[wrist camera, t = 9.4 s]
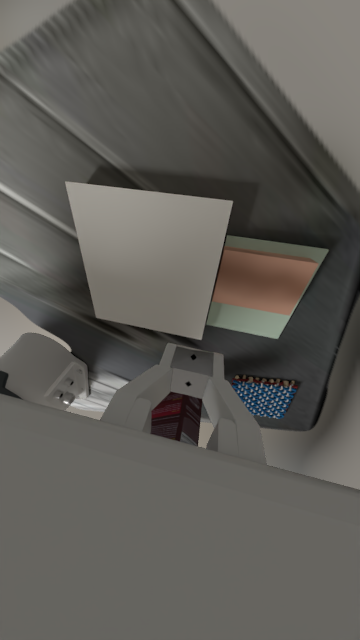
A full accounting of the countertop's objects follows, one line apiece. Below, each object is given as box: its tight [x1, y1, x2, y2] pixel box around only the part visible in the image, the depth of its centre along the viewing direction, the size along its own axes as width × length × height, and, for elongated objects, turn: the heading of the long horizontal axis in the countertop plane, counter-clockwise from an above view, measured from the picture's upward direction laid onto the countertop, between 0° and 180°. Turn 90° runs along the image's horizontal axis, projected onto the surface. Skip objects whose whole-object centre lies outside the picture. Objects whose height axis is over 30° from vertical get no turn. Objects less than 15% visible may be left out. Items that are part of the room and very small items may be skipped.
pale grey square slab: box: [65, 181, 233, 340], centre depth 21 cm, size 16×16×3 cm
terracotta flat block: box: [212, 246, 319, 316], centre depth 19 cm, size 6×9×2 cm, turn 84°
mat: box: [206, 235, 329, 339], centre depth 21 cm, size 12×10×1 cm
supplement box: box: [150, 391, 202, 446], centre depth 28 cm, size 9×5×16 cm, turn 126°
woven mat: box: [232, 375, 298, 419], centre depth 32 cm, size 10×11×2 cm
